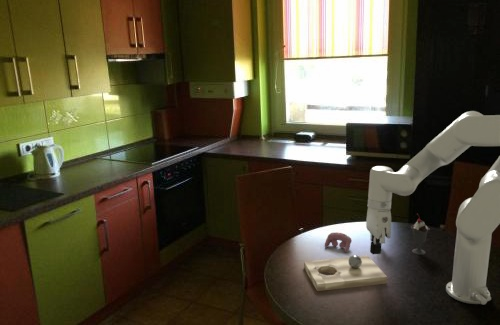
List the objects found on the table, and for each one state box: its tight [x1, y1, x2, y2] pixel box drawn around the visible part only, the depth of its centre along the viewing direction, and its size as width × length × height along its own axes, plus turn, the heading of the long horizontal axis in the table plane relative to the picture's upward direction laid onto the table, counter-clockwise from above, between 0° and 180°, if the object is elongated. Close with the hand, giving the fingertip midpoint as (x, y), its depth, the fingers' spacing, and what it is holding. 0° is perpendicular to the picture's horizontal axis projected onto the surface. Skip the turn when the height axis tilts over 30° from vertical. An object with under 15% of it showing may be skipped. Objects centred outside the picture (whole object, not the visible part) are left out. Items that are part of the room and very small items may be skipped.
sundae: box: [410, 213, 431, 256], centre depth 166 cm, size 7×7×15 cm
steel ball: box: [348, 254, 362, 268], centre depth 152 cm, size 4×4×4 cm
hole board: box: [303, 254, 388, 292], centre depth 153 cm, size 16×24×2 cm, turn 99°
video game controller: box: [324, 232, 352, 253], centre depth 174 cm, size 10×5×7 cm, turn 58°
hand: (375, 253), depth 152 cm, fingers closed
